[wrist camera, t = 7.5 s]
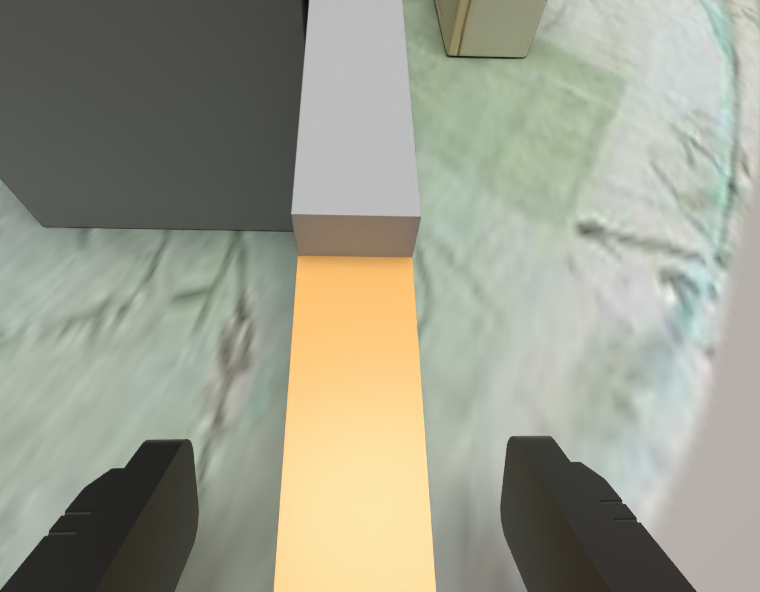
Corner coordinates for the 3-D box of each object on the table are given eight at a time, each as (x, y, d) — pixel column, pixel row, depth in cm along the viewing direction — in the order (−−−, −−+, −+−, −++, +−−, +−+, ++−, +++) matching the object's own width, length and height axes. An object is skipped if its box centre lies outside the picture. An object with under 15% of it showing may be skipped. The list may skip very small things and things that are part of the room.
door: (310, 742, 10) (198, 1321, 2) (330, 157, 18) (320, -134, 11) (386, 737, 10) (514, 1277, 2) (372, 158, 18) (390, -128, 11)
